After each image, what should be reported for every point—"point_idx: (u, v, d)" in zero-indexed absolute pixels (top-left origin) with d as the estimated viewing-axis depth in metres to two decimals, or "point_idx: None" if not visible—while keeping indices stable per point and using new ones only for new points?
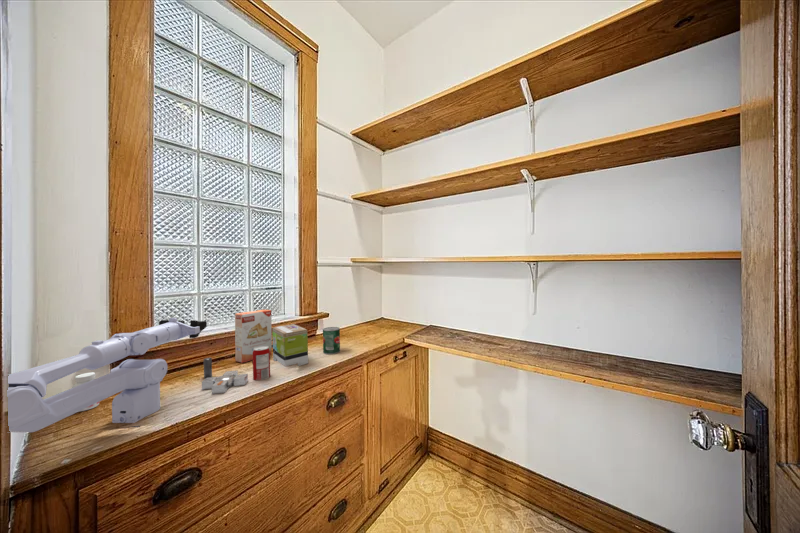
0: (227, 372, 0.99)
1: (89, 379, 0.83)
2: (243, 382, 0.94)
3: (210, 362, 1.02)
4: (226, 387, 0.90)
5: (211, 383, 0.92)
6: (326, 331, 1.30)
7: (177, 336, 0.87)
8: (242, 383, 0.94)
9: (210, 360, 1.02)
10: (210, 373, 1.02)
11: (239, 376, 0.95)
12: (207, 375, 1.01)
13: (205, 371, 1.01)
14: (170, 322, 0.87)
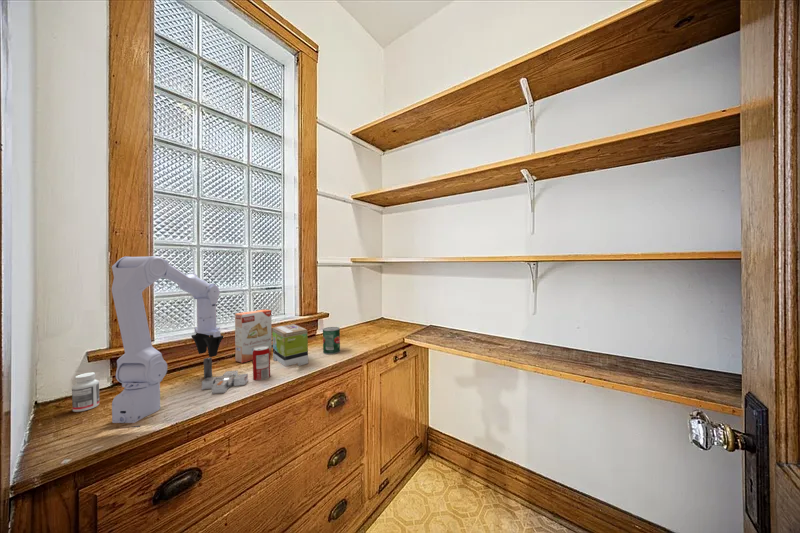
0: (227, 372, 0.99)
1: (89, 379, 0.83)
2: (243, 382, 0.94)
3: (210, 362, 1.02)
4: (226, 387, 0.90)
5: (211, 383, 0.92)
6: (326, 331, 1.30)
7: (206, 327, 0.99)
8: (242, 383, 0.94)
9: (210, 360, 1.02)
10: (210, 373, 1.02)
11: (239, 376, 0.95)
12: (208, 375, 1.01)
13: (205, 371, 1.01)
14: None
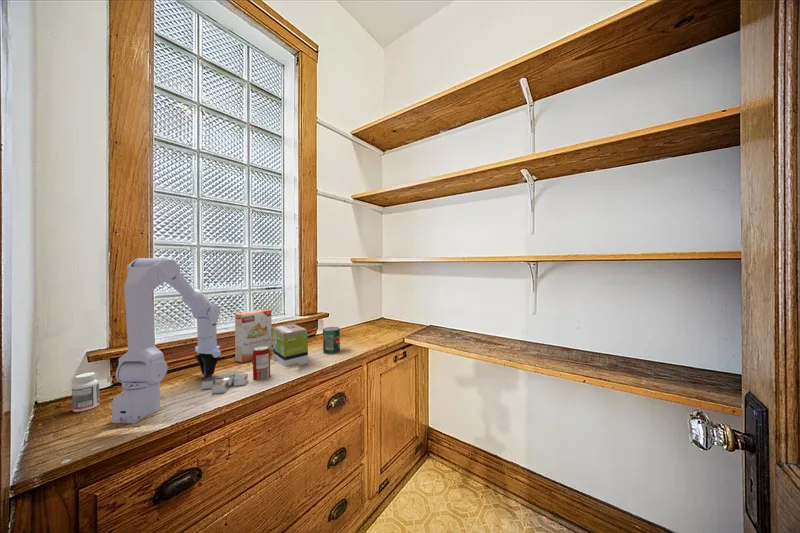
0: (227, 372, 0.99)
1: (89, 379, 0.83)
2: (243, 382, 0.94)
3: None
4: (226, 387, 0.90)
5: (211, 383, 0.92)
6: (326, 331, 1.30)
7: (206, 347, 0.99)
8: (242, 383, 0.94)
9: None
10: None
11: (239, 376, 0.95)
12: None
13: None
14: None
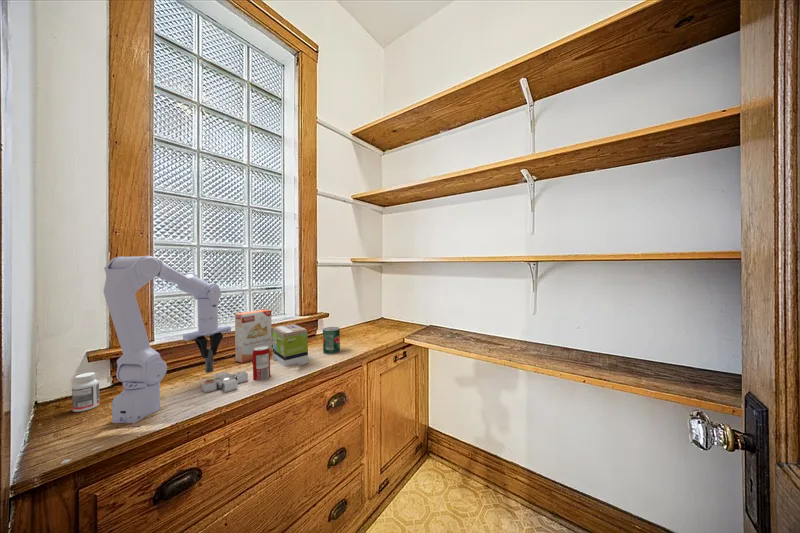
0: (241, 372, 0.99)
1: (89, 379, 0.83)
2: (224, 389, 0.89)
3: None
4: (210, 388, 0.90)
5: None
6: (326, 331, 1.30)
7: (198, 328, 0.98)
8: (224, 389, 0.89)
9: None
10: (206, 364, 0.99)
11: (228, 381, 0.91)
12: None
13: None
14: (211, 328, 0.98)
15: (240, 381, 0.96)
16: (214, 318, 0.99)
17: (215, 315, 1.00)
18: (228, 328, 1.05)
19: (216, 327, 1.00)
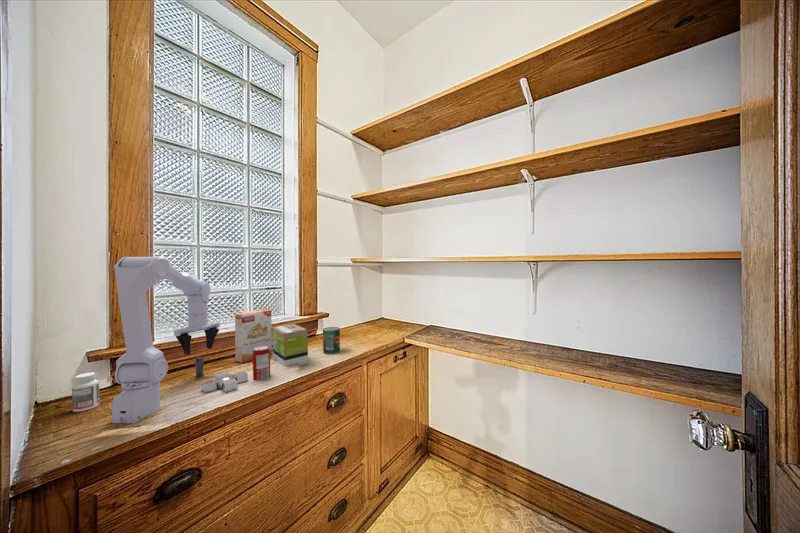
0: (241, 372, 0.99)
1: (89, 379, 0.83)
2: (224, 389, 0.89)
3: (196, 362, 1.02)
4: (210, 388, 0.90)
5: None
6: (326, 331, 1.30)
7: (188, 323, 1.01)
8: (224, 389, 0.89)
9: (196, 360, 1.02)
10: (196, 373, 1.02)
11: (228, 381, 0.91)
12: None
13: None
14: (202, 324, 1.02)
15: (240, 381, 0.96)
16: (204, 314, 1.02)
17: (206, 311, 1.03)
18: (217, 324, 1.08)
19: (206, 323, 1.03)
